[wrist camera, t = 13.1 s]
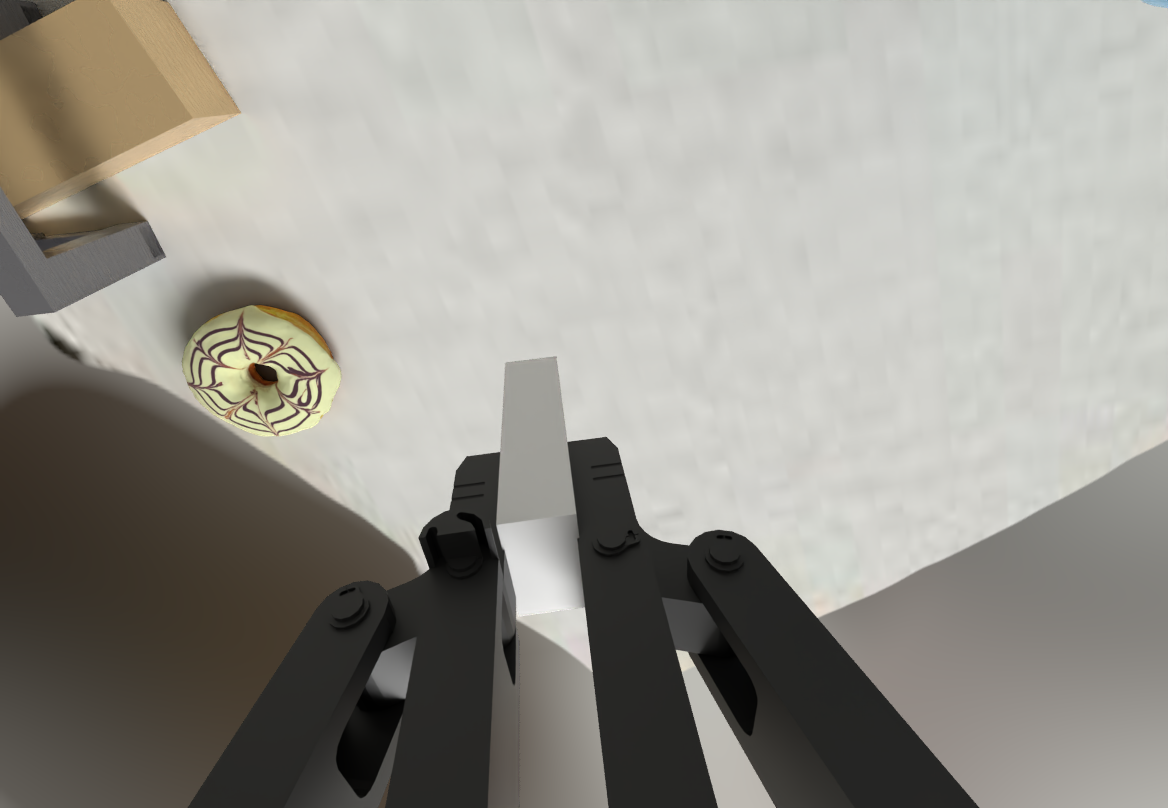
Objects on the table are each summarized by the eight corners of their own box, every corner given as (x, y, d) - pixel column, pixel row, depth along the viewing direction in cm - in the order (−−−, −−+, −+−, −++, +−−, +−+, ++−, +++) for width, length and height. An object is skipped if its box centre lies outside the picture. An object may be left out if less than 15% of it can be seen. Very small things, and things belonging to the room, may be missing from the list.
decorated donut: (370, 356, 43) (358, 378, 40) (300, 437, 46) (284, 463, 43) (245, 271, 38) (221, 289, 35) (178, 367, 42) (150, 391, 39)
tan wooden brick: (171, 2, 30) (98, -14, 25) (243, 112, 33) (191, 118, 28) (-100, 143, 32) (-218, 155, 27) (-8, 234, 36) (-99, 260, 30)
